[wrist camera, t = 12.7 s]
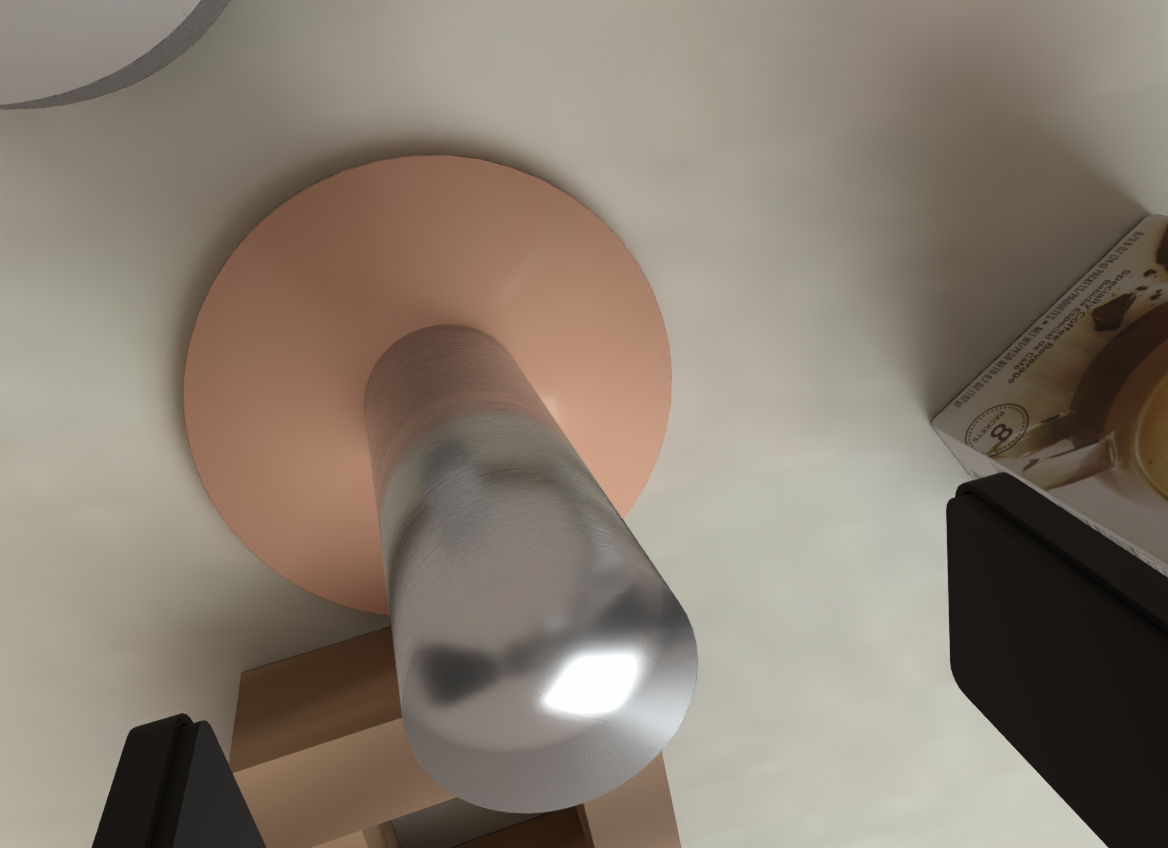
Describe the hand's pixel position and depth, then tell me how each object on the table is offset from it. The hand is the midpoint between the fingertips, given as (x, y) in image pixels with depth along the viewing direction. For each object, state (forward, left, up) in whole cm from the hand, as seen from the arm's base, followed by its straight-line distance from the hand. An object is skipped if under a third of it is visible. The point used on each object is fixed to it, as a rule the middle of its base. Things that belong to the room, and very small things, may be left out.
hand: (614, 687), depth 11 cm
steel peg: (+1, -1, -13) cm, 13 cm away
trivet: (+1, -1, -14) cm, 14 cm away
